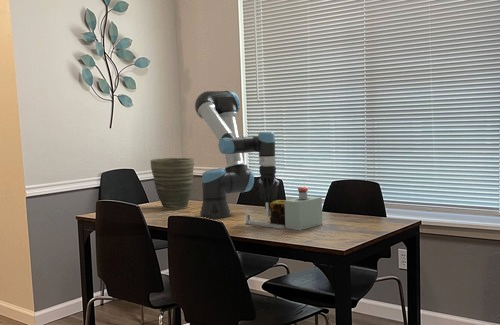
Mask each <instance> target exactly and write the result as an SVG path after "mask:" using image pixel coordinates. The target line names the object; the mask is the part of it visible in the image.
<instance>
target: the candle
mask: <svg viewBox="0 0 500 325" xmlns="http://www.w3.org/2000/svg"><path fill="white" fill-rule="evenodd" d="M286 200H287V199H276V201H274V202H272V203H270V208H271V210H270V212H271V216H269V217H270V219H269V221H270V222H269V223H274V224H281V225H285V202H284V201H286Z"/></svg>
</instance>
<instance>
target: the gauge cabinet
mask: <svg viewBox="0 0 500 325" xmlns="http://www.w3.org/2000/svg"><path fill="white" fill-rule="evenodd" d="M285 200H286V201H284V202H285V228H284V229H289V230H294V231H295V230H296V231H302V230H306V229H309V228H313V227H317V226H320V225H323V199H322V197H319V196H310V195H307V200H299V197H297V198H292V199H285Z"/></svg>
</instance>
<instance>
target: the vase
mask: <svg viewBox="0 0 500 325" xmlns="http://www.w3.org/2000/svg"><path fill="white" fill-rule="evenodd" d="M194 164H195V158H193V157H191V158H190V157H188V158H186V157H165V158H154V159H151V160H150V168H151V173H152V176H153V183H154V187H155V190H156V193H157V197H158V199H159V200H160V203H161V205H162V207H161V209H162V210H166V211H167V210H173V211H175V210H182V209H188V208H189V201H190V198H191V194H192V190H193V184H194V166H195V165H194Z"/></svg>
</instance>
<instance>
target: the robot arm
mask: <svg viewBox="0 0 500 325" xmlns="http://www.w3.org/2000/svg"><path fill="white" fill-rule="evenodd" d="M240 106H241V102H240V98H239V96H238V94H237V93H236V92H234V91H231V90H221V91H220V90H215V91H210V90H207V91H204V92H201V94H199V95H198V96H197V98H196V100H195V102H194V109H195V112H196V114H197V116H198V117H199V118H200V119H202V120H204V122H205V123H206V124H207V126H208V127H209V129H210V131H211V132H212V133H213V135H214V136H215V137H216V138H217V140H218V145H217V146H218V149H219V152H220V153H221V154H223V155H225V160H226V166H225V167H222V168H219V167H218V168H212V169H208V170H206V171H204V172H203V173H202V176H201V183H202V185H201V186H202V187H201V188H202V204H201V210H200V212H199V214H200V215H199V217H200V218H201V217H206V218H205V219H209V218H211V219H224V218H228V217H231V215H232V214H231V213H232V212H231V209H230V206H229V204H228V200H227V195H229V194H238V193H241V194H242V193H245V192H249V191H251V190H252V189H253V187H254V183H256V184H257V187H258V191H259V195H260V199H261V201H263V202H264V209H265V217H268V218H269V217H271V212H270V210H271V208H270V203H272V202H274V201H276V200H278V199H277V198H278V191H279V186H280V184H281V181H280V180H278V179H277V176H276V174H277V173H276V172H277V167H276V139H275V138H276V137H275V133H274V132H273V131H260V132H258V135H250V136H239V130H238V126H237V122H236V120H237V119H236V117H237V116H238V113H239V111H240V108H241V107H240ZM243 153H244V154H245V153H246V154H248V153H258V162H259V164H258V165H260V166H259V167H258V168H259V174H260V176H259V179H256V180H255V175H254V171H253V170H252V169H250V168H248V164H247V163H246V162H245V161H244V158H243V157H244V156H243ZM255 181H256V182H255Z"/></svg>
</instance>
